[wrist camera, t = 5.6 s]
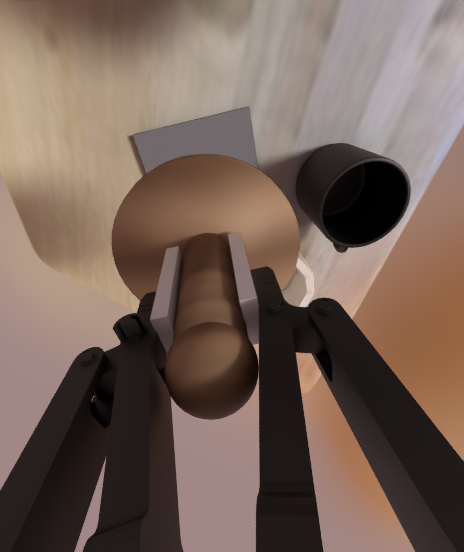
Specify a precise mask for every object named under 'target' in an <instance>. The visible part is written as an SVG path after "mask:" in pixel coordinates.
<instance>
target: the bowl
mask: <svg viewBox="0 0 464 552" xmlns="http://www.w3.org/2000/svg"><path fill="white" fill-rule="evenodd" d="M282 294H283V297H284V299H285V301H287V302H288V303H289V304H291V305H293V306H297V307H306V306H307V304H308V303H309V301H310V299H311V298H312V296H313V294H314V278H313V273H312V271H311V269H310V268H309V266H308V264H307V263H306V261H305V259H304V258H303V256H302V255H301V253H300V252H299V256H298V260H297V263H296V267H295V269H294V271H293V274H292V276H291V278H290V279H289V281H288V283H287V284H286V286H285V287H284V288H283V290H282Z"/></svg>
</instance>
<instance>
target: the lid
mask: <svg viewBox="0 0 464 552" xmlns="http://www.w3.org/2000/svg"><path fill="white" fill-rule="evenodd" d="M238 232H240V233H241V237H242V241H243V245H244V249H245V253H246V257H247V260H248V264H249V268H250V270H252V269H256V268H261V267H266V266H268V267H270V268H271V269H272V270H273V271H274V273H275V276H276V278H277V281H278V284H279V286H280V289H281V291H282V290H283V288H284V287H285V286H286V284H287V283H288V281H289V279H290V278H291V276H292V274H293V271H294V269H295V267H296V263H297V260H298V256H299V248H300V234H299V227H298V223H297V219H296V216H295V213H294V211H293V209H292V207H291V205H290V203H289V201H288V200H287V198H286V197H285V196H284V194H283V193H282V191H281V190H280V189H279V187H278V186H277V185H276V184H275V183H274V182H273V181H272V180H271V179H270V178H269V177H268V176H266V175H265V174H264V173H263V172H261V171H260V170H259V169H257V168H255V167H253V166H252V165H250V164H248V163H246V162H243V161H241V160H238V159H236V158H232V157H228V156H224V155H216V154H193V155H187V156H182V157H179V158H175V159H172V160H169V161H167V162H165V163H163V164H161V165H159V166H157V167H155V168H154V169H152V170H151V171H149V172H148V173H146V174H145V175H144V176H143V177H142V178H141V179H140V180H139V181H138V182H137V183H136V184H135V185H134V186H133V188H132V189H131V190H130V191H129V193H128V194H127V195H126V197H125V198H124V200H123V202H122V204H121V205H120V207H119V209H118V212H117V214H116V217H115V220H114V225H113V230H112V251H113V257H114V261H115V264H116V267H117V269H118V272H119V274H120V276H121V278H122V280H123V281H124V283H125V285H126V286H127V287H128V288H129V290H130V291H131V292H132V293H133V294H134V295H135V296H136V297H137V298H138V299H139V300H140V301H141V299H142V298H143V297H144V295H145V294H146V293H150V292H155V291H157V287H158V283H159V279H160V274H161V270H162V266H163V261H164V257H165V253H166V249H168V248H172V247H176V246H179V249H180V252H181V255H182V258H183V263H182V271H181V279H180V288H179V296H178V304H177V312H176V320H175V328H174V337H173V343H172V345H171V346H170V348H169V351H168V353H167V356H166V360H165V367H164V375H165V382H166V386H167V389H168V391H169V393H170V396H171V397H172V399H173V400H174V401H175V403H176V404H177V405H178V406H179V407H180V408H181V409H182V410H183V411H185V412H187V413H188V414H190V415H192V416H194V417H197V418H201V419H210V420H211V419H220V418H224V417H227V416H229V415H231V414H233V413H235V412H236V411H238V410H239V409H240V408H241V407H243V406H244V405H245V403H246V402H247V401H248V400H249V398H250V397H251V395H252V394H253V391H254V389H255V387H256V384H257V379H258V371H259V365H258V358H257V354H256V351H255V349H254V347H253V345H252V343H251V341H250V340H249V337H248V332H247V326H246V323H245V320H244V318H243V314H242V310H241V306H240V302H239V297H238V291H237V285H236V279H235V273H234V267H233V261H232V255H231V249H230V243H229V237H228V235H230V234H234V233H238Z"/></svg>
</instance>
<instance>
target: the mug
mask: <svg viewBox="0 0 464 552" xmlns="http://www.w3.org/2000/svg"><path fill="white" fill-rule="evenodd" d="M410 192H411V187H410V181H409V178H408V175H407V173H406V172H405V170H404V169H403V168H402V167H401V165H400V164H398V163H397V162H395V161H393V160H391V159H389V158H386V157H383V156H380V155H378V154H375V153H372V152H369V151H367V150H364V149H361V148H358V147H356V146H353V145H350V144H345V143H336V144H331V145H328V146H325V147H323V148H321V149H319V150H318V151H316V152H315V153H314V154H313V155H311V156H310V157H309V158H308V160H307V161H306V162H305V163H304V165H303V166H302V168H301V170H300V172H299V175H298V178H297V182H296V196H297V200H298V203H299V205H300V206H301V208H302V209H303V210H304V212H305V213H306V214H307V215H308V216H309V217H310V219H311V220H312V221H313V222H314V223H315V225H316V226H317V227H318V228H319V229H320V231H321V232H322V233H323V234H324V235H325V236H326V238H328V239H329V240H330V241H331V242H333V245H334V247H335V249H336V250H337V251H338V252H341V253H343V252H346V250H347V249H348V248H349V247H350V248H353V247H362V246H366V245H369V244H371V243H374V242H376V241H378V240H379V239H381V238H383V237H384V236H385V235H387V234H388V233H389V232H390V231H391V230H392V229H393V228H394V227H395V226H396V225H397V224H398V223H399V221H400V220H401V218H402V217H403V215H404V213H405V211H406V209H407V206H408V204H409V200H410Z"/></svg>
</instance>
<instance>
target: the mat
mask: <svg viewBox="0 0 464 552" xmlns="http://www.w3.org/2000/svg"><path fill="white" fill-rule="evenodd" d="M133 138H134V141H135V143H136V146H137V149H138V152H139V154H140V157H141V160H142V163H143V166H144V168H145V171H146V173H148V172H149V171H151V170H152V169H154V168H155V167H157V166H159V165H161V164H163V163H165V162H167V161H169V160H172V159H175V158H179V157H182V156H187V155H193V154H216V155H224V156H228V157H232V158H236V159H238V160H241V161H243V162H246V163H248V164H250V165H252V166H253V167H255V168H257V169H258V163H257V156H256V149H255V142H254V136H253V129H252V122H251V116H250V109H249V107H245V108H241V109H237V110H233V111H229V112H224V113H220V114H216V115H212V116H208V117H204V118H200V119H196V120H192V121H188V122H183V123H179V124H175V125H171V126H167V127H163V128H159V129H155V130H151V131H147V132H143V133H138V134H134V135H133Z"/></svg>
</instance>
